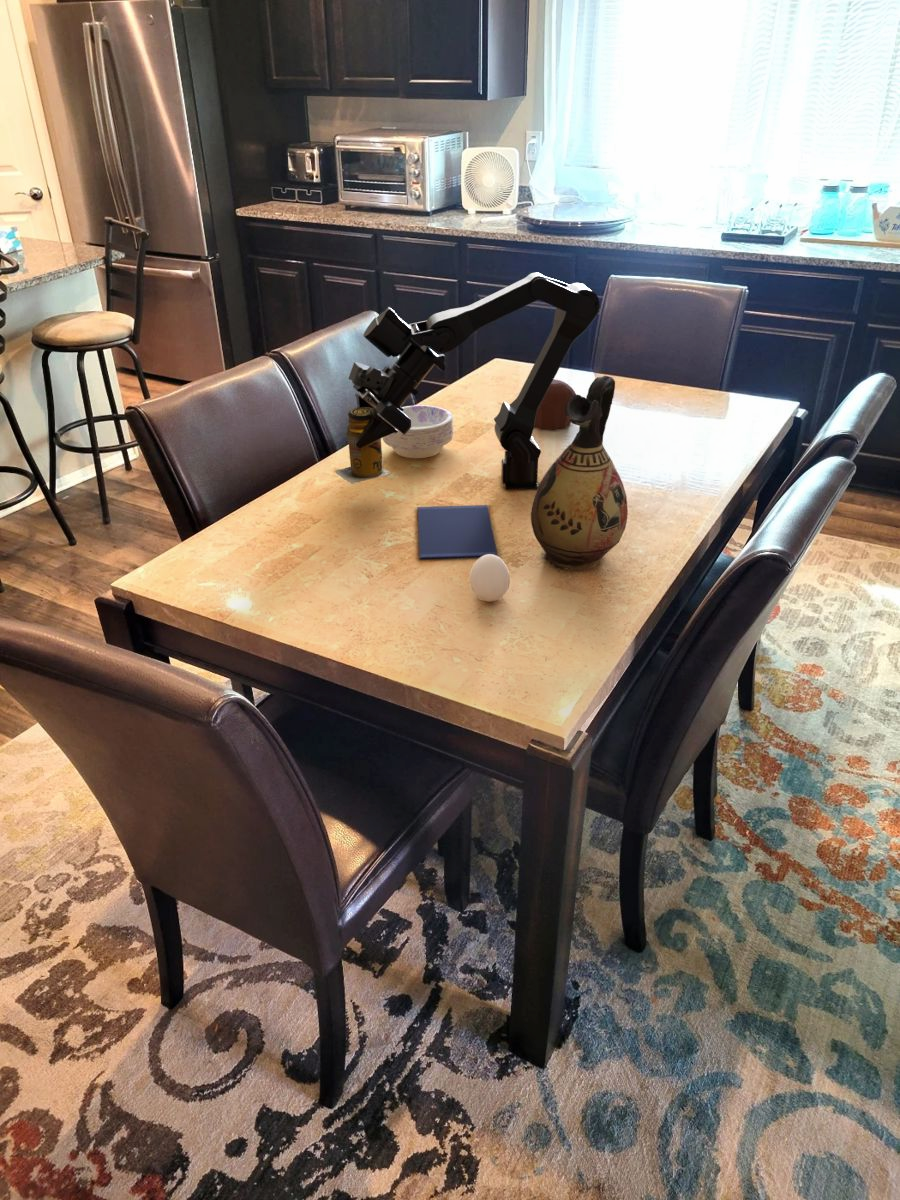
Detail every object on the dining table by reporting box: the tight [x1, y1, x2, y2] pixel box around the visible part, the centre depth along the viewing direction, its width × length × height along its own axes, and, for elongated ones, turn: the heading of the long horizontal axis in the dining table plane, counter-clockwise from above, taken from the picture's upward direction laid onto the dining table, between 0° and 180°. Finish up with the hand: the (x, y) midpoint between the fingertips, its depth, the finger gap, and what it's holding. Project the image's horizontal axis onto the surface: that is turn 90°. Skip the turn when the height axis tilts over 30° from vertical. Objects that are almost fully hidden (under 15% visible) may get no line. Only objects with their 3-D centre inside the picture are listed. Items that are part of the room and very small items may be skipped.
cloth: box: [417, 504, 498, 561], centre depth 151 cm, size 13×20×1 cm, turn 3°
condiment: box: [333, 407, 392, 485], centre depth 157 cm, size 7×8×12 cm
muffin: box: [534, 378, 577, 432], centre depth 196 cm, size 12×11×10 cm
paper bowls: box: [382, 404, 454, 459], centre depth 182 cm, size 15×15×8 cm
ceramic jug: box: [530, 374, 629, 572], centre depth 135 cm, size 17×15×30 cm
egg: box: [469, 554, 511, 602], centre depth 129 cm, size 6×6×8 cm
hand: (352, 441), depth 157 cm, fingers closed on condiment, 6 cm apart
